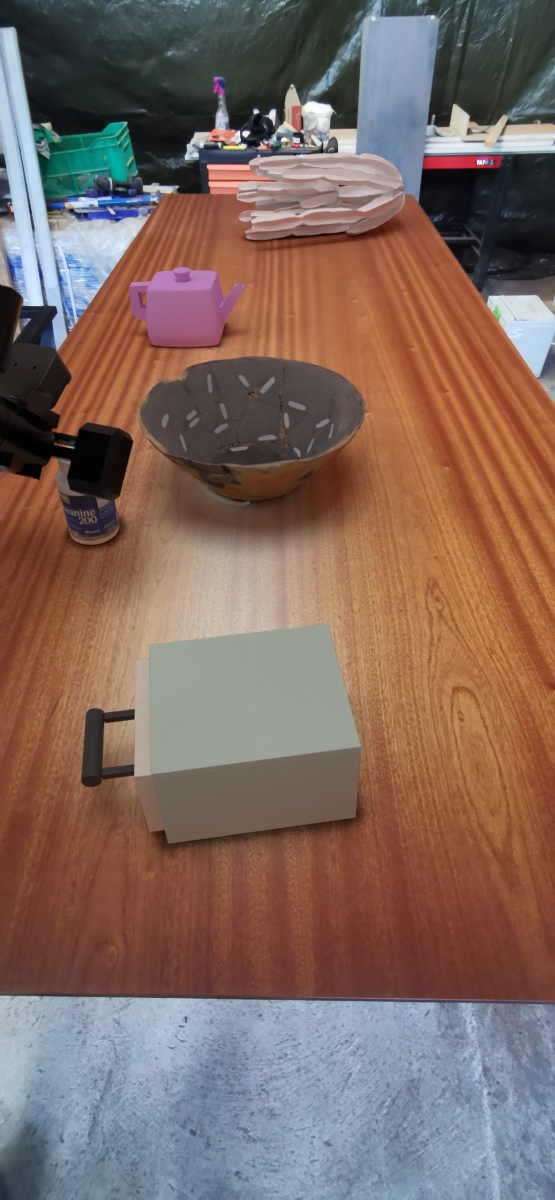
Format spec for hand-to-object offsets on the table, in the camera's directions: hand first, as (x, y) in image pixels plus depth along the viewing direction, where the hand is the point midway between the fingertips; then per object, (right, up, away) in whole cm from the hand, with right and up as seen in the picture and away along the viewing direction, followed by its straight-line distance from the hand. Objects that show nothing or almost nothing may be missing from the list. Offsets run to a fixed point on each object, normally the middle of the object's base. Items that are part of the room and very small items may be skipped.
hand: (82, 469), depth 75 cm
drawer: (+14, -26, -19) cm, 35 cm away
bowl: (+17, +1, +12) cm, 21 cm away
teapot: (+6, +29, +43) cm, 53 cm away
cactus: (+29, +64, +81) cm, 107 cm away
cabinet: (+18, -26, -18) cm, 36 cm away
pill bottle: (0, -6, +5) cm, 8 cm away
